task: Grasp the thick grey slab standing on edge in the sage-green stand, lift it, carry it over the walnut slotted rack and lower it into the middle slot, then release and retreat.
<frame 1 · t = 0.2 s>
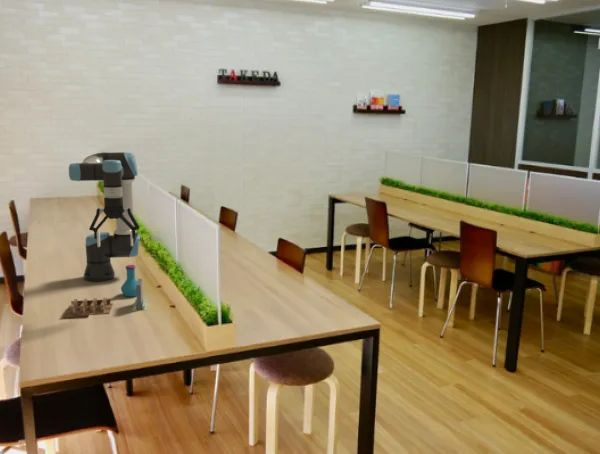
hand: (115, 246, 237), 28 cm above the table, fingers open, 13 cm apart
rack: (89, 312, 236), on the table
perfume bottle: (131, 297, 257), on the table
stand: (140, 308, 242), on the table
thick grey slab: (140, 306, 241), point 1 cm above the table, touching stand
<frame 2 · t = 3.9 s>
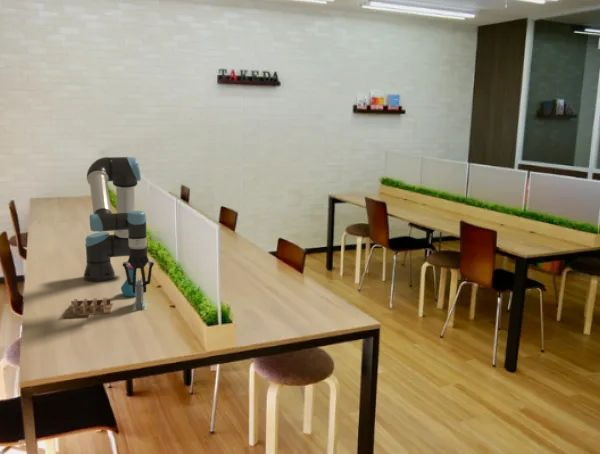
hand: (139, 299, 241), 4 cm above the table, fingers closed on thick grey slab, 2 cm apart
thick grey slab: (140, 306, 242), point 1 cm above the table, touching gripper
everything else where it was.
when the fingers open (6 cm above the table, at t = 8.7 s): thick grey slab drops 2 cm, resting on rack.
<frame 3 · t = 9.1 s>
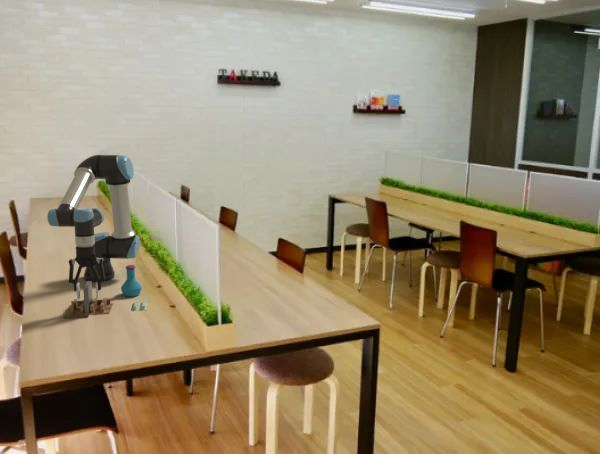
hand: (88, 297, 235), 6 cm above the table, fingers open, 7 cm apart
thick grey slab: (88, 309, 236), point 1 cm above the table, touching rack
everything else where it was.
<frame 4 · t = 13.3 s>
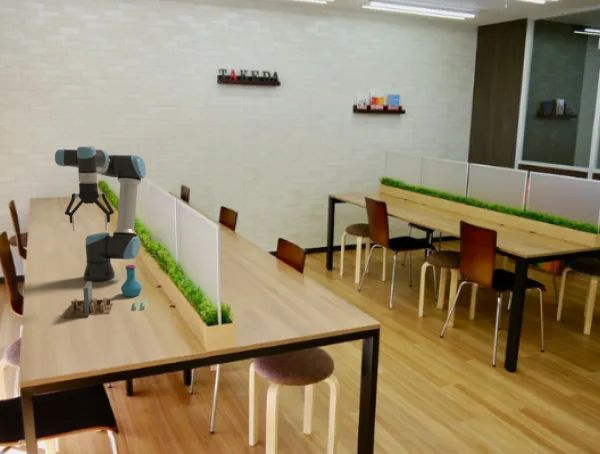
hand: (90, 230, 245), 33 cm above the table, fingers open, 13 cm apart
nothing on the table moved.
at the end: thick grey slab 0.0 cm off-centre on the rack, point 1.2 cm above the rack's base; thick grey slab tilted 0°; the gripper is holding nothing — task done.
